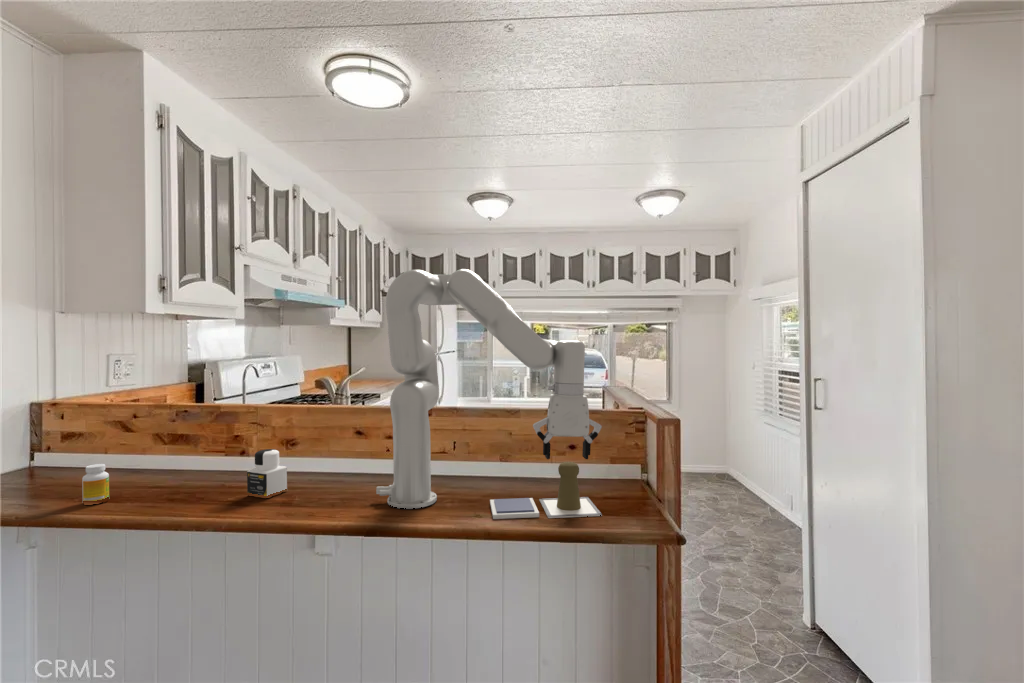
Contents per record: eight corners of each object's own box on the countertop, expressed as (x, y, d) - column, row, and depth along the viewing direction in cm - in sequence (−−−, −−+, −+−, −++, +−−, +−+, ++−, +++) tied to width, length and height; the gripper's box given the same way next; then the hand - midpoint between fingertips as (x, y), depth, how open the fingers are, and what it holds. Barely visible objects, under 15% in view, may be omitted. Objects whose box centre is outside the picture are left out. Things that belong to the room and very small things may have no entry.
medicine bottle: (246, 496, 137) (246, 452, 137) (268, 489, 143) (267, 446, 143) (266, 499, 134) (265, 454, 134) (287, 491, 141) (287, 448, 141)
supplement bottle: (111, 502, 132) (110, 465, 132) (84, 507, 128) (83, 469, 128) (107, 497, 136) (106, 461, 136) (81, 502, 132) (80, 465, 132)
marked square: (548, 518, 120) (548, 516, 120) (539, 500, 133) (539, 498, 133) (601, 515, 121) (601, 514, 121) (587, 498, 134) (587, 496, 134)
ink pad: (493, 519, 119) (493, 513, 119) (490, 503, 130) (490, 498, 130) (539, 517, 121) (539, 511, 121) (532, 501, 131) (532, 496, 131)
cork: (580, 511, 123) (580, 466, 123) (555, 509, 125) (555, 465, 124) (581, 503, 129) (581, 460, 129) (557, 501, 130) (557, 459, 130)
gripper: (536, 391, 122) (534, 461, 122) (606, 392, 124) (604, 461, 124) (531, 387, 129) (530, 454, 130) (598, 388, 131) (596, 454, 132)
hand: (566, 458), depth 127 cm, fingers open, 9 cm apart
